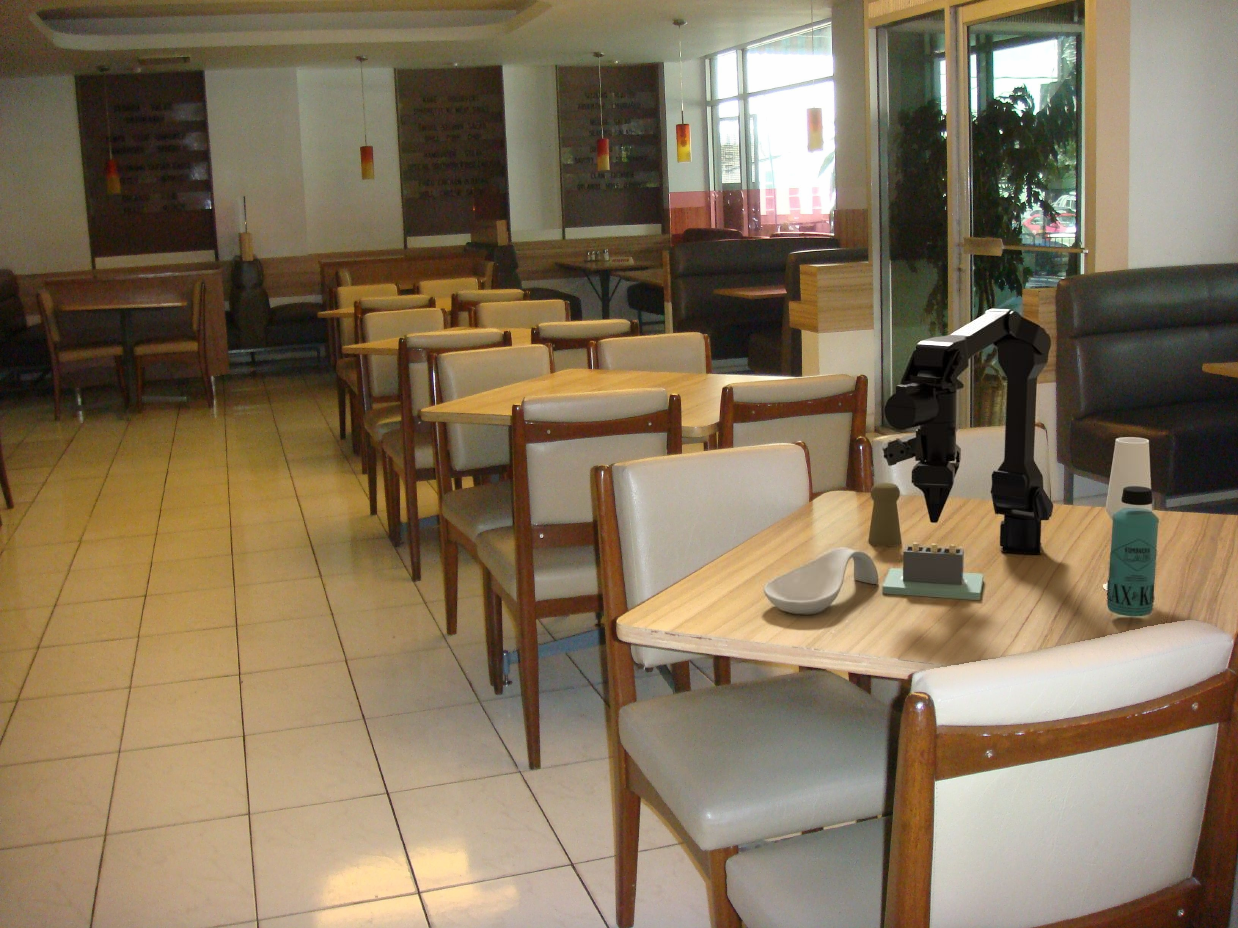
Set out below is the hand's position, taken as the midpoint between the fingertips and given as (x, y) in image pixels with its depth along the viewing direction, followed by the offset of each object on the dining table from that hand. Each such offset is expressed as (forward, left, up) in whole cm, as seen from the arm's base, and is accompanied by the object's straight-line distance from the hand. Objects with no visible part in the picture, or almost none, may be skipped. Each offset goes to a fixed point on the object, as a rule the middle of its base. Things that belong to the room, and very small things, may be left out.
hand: (936, 514), depth 195 cm
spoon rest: (+16, +11, -12) cm, 23 cm away
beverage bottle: (-29, +11, -12) cm, 33 cm away
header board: (0, +2, -12) cm, 12 cm away
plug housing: (0, +1, -11) cm, 11 cm away
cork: (+11, -23, -12) cm, 29 cm away
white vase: (-29, -4, -12) cm, 32 cm away
